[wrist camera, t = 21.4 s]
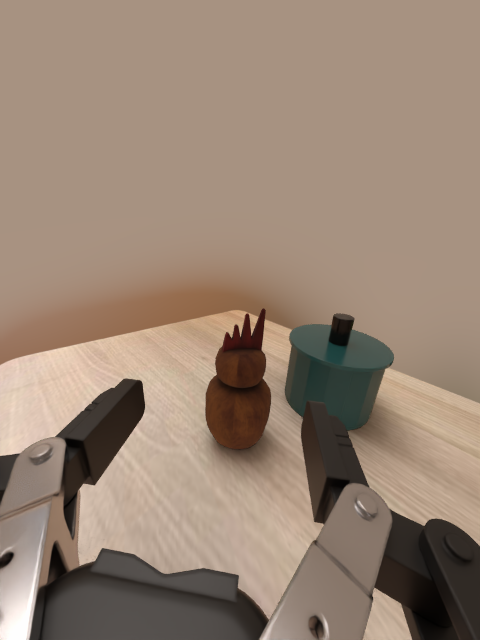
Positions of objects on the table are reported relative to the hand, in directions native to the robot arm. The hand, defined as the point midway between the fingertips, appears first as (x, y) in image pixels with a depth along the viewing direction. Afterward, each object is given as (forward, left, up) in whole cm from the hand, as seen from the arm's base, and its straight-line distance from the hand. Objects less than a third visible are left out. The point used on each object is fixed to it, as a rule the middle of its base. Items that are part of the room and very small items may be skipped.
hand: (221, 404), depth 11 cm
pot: (-18, -14, -14) cm, 26 cm away
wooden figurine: (-4, -10, -14) cm, 17 cm away
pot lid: (-18, -14, -5) cm, 23 cm away
